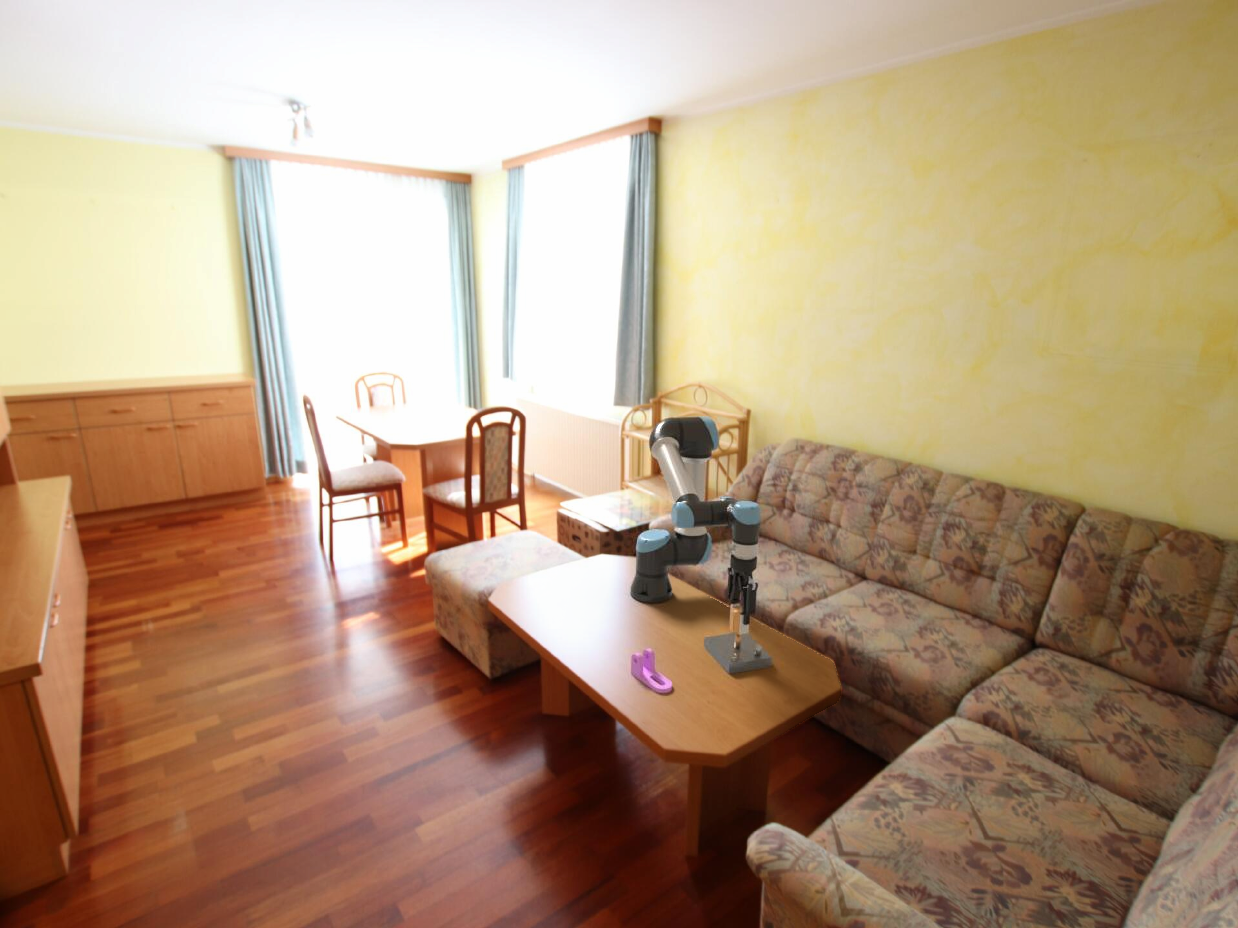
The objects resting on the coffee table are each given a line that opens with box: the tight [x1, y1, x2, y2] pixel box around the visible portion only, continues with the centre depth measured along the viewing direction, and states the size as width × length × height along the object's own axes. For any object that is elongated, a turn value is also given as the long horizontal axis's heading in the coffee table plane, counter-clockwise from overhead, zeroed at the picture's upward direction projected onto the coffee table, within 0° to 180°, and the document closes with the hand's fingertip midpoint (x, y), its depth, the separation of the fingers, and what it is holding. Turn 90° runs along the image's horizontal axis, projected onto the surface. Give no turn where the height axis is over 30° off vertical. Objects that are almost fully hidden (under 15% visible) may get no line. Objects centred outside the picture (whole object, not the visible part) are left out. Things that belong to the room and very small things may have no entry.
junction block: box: [703, 632, 773, 675], centre depth 193 cm, size 16×14×7 cm
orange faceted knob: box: [729, 605, 742, 634], centre depth 191 cm, size 5×5×6 cm
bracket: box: [630, 647, 673, 694], centre depth 180 cm, size 13×6×7 cm, turn 37°
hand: (738, 628), depth 192 cm, fingers closed on orange faceted knob, 5 cm apart
